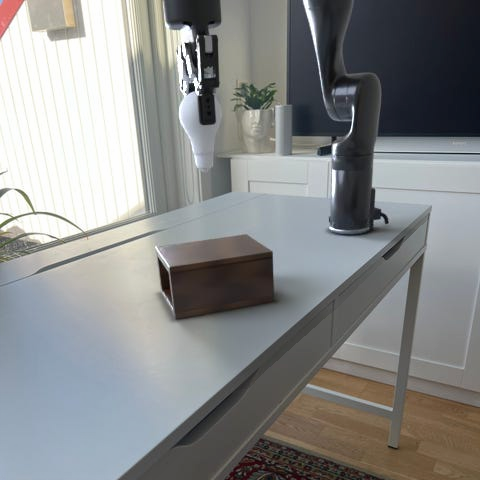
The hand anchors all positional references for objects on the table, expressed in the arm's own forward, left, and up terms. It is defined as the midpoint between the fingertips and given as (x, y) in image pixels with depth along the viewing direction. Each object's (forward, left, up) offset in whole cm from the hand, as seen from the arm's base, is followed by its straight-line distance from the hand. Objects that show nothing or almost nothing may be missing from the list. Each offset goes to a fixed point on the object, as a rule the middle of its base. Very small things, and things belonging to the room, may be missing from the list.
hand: (201, 124), depth 69 cm
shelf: (0, +1, -27) cm, 27 cm away
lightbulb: (0, 0, -7) cm, 7 cm away
